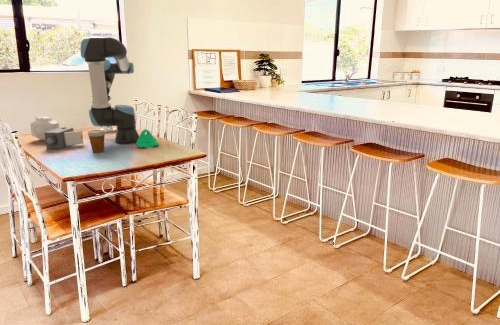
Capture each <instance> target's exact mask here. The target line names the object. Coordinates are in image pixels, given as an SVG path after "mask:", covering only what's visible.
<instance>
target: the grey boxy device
mask: <svg viewBox="0 0 500 325" xmlns="http://www.w3.org/2000/svg"><path fill="white" fill-rule="evenodd" d="M74 131H75V130H74V127H67V126H59V128H56V129H53V130H50V131H47V132H44V134H45V141H44V142H45V147H46V149H47V150H62V149H65V148H67V147H69V146H71V145H68V146H65V139H64V133H66V132H74Z"/></svg>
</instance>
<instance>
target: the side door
mask: <svg viewBox="0 0 500 325" xmlns="http://www.w3.org/2000/svg"><path fill="white" fill-rule="evenodd" d="M83 135H84V134H83V130H74V132H66V133H64V139H65V146H67V147H69V146H68V145H70V146H73V145H74V146H75V145H76V146H77V145H83V144H84V137H83Z"/></svg>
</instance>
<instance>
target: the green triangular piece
mask: <svg viewBox="0 0 500 325" xmlns="http://www.w3.org/2000/svg"><path fill="white" fill-rule="evenodd" d="M138 136H139V138H138V140H137V142H136V146H137V147H139V148H145V149H151V148H154V147H155V146H159V145H160V143H159V142H158V141H157V140H156V139H155V137H154V136H153V135H152V133H151V131H150V130H148V129H142V131H141V132H140V134H139V135H138Z"/></svg>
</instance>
